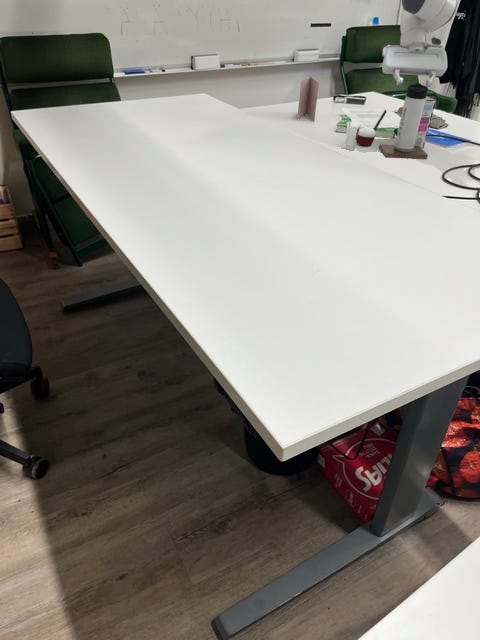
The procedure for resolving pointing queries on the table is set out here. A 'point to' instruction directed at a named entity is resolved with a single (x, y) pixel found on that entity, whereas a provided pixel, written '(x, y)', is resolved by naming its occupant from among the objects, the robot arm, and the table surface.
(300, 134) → the table surface
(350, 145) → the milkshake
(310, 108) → the greeting card
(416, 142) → the candy bar box
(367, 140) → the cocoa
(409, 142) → the travel mug
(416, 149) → the walnut board
